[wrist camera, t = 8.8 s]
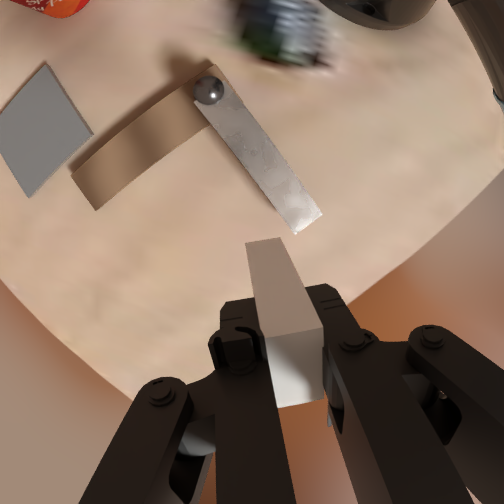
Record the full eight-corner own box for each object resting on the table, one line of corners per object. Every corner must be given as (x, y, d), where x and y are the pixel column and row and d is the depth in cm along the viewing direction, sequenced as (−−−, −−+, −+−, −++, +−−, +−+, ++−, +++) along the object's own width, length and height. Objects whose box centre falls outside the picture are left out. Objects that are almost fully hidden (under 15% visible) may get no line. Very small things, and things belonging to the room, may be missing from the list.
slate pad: (49, 65, 23) (45, 64, 22) (94, 134, 26) (90, 134, 25) (-8, 130, 24) (-12, 130, 23) (32, 196, 27) (28, 198, 27)
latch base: (216, 66, 25) (215, 63, 24) (242, 103, 27) (243, 102, 26) (75, 174, 27) (70, 175, 26) (99, 207, 29) (95, 211, 28)
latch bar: (187, 94, 25) (183, 90, 22) (215, 74, 24) (215, 67, 21) (289, 226, 30) (296, 236, 27) (314, 207, 29) (324, 216, 26)
